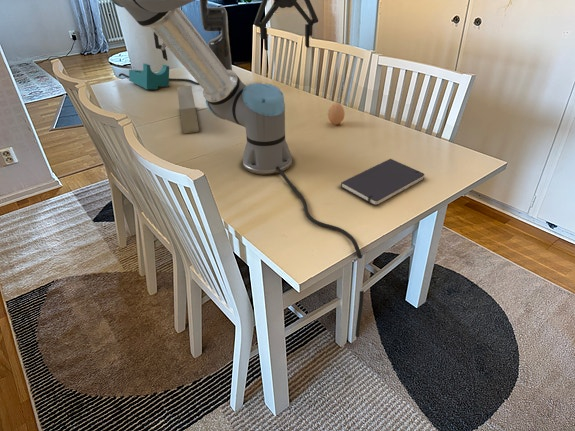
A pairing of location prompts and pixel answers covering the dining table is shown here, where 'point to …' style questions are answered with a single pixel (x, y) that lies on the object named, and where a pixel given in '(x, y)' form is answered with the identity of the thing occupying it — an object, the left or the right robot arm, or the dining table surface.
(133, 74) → the teal notched block
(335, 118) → the egg
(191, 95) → the bar
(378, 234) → the dining table surface
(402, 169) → the notebook
